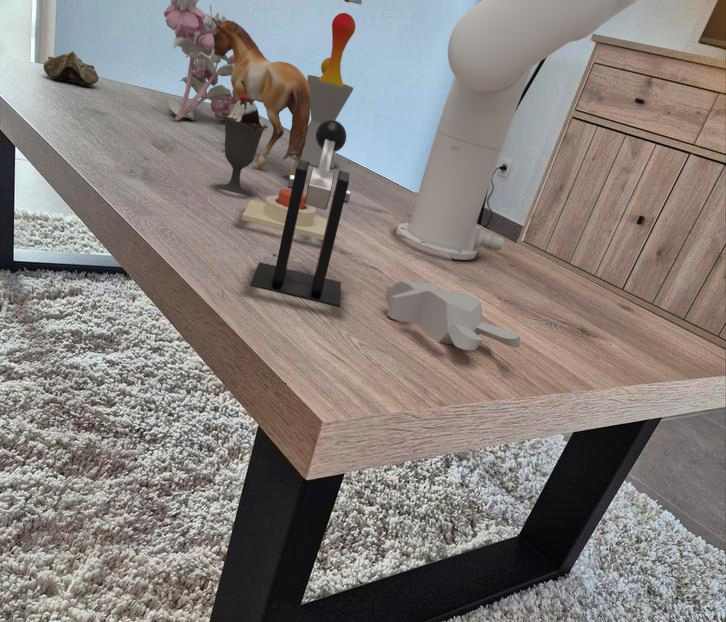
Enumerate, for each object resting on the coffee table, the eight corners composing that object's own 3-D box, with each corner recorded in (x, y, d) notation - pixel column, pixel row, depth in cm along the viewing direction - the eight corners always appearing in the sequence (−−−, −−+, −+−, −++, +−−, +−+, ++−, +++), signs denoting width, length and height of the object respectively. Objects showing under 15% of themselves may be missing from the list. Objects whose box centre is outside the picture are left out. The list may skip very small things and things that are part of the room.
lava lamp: (342, 170, 135) (390, -29, 119) (301, 163, 130) (344, -45, 114) (325, 158, 141) (367, -32, 126) (285, 151, 137) (324, -48, 121)
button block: (327, 231, 94) (333, 207, 92) (325, 248, 87) (331, 222, 85) (248, 211, 92) (253, 186, 91) (240, 227, 85) (244, 200, 84)
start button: (305, 206, 90) (308, 193, 89) (303, 213, 87) (306, 200, 86) (278, 199, 89) (281, 186, 89) (275, 206, 86) (278, 192, 85)
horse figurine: (193, 135, 127) (210, 14, 118) (229, 140, 132) (248, 24, 123) (283, 189, 108) (311, 50, 99) (321, 192, 113) (352, 60, 104)
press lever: (315, 136, 73) (321, 110, 70) (344, 144, 73) (350, 118, 71) (298, 206, 66) (303, 179, 63) (330, 215, 66) (337, 188, 64)
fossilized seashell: (103, 75, 146) (55, 70, 145) (95, 46, 140) (45, 41, 140) (95, 97, 142) (46, 93, 142) (87, 69, 137) (36, 64, 136)
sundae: (220, 181, 102) (236, 76, 96) (261, 194, 102) (281, 89, 95) (202, 188, 97) (218, 76, 90) (246, 202, 96) (266, 90, 89)
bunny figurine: (437, 272, 76) (537, 318, 65) (427, 316, 78) (523, 367, 67) (369, 270, 70) (466, 319, 59) (360, 317, 72) (452, 373, 61)
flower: (262, 138, 134) (289, 14, 134) (145, 98, 126) (173, -35, 126) (242, 160, 153) (266, 51, 152) (139, 127, 145) (164, 11, 144)
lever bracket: (257, 272, 73) (280, 151, 67) (338, 291, 74) (368, 175, 68) (248, 295, 67) (273, 164, 61) (337, 316, 68) (370, 190, 62)
